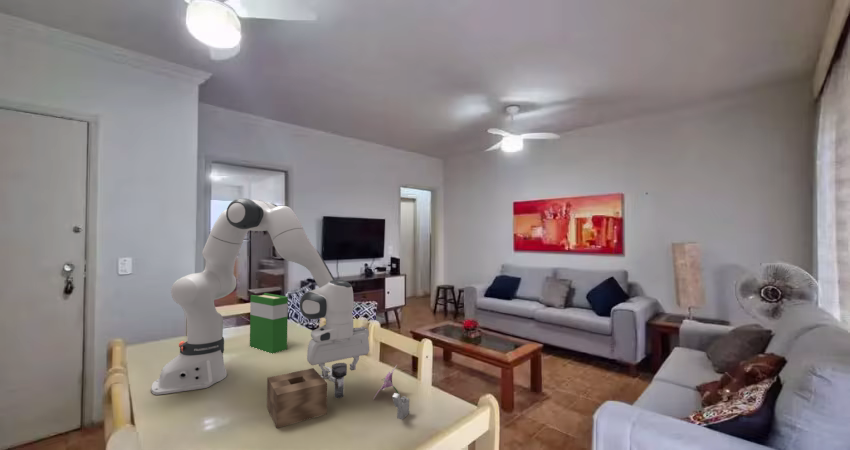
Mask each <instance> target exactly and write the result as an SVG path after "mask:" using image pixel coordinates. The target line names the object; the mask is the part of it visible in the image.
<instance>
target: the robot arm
mask: <svg viewBox="0 0 850 450" xmlns="http://www.w3.org/2000/svg"><path fill="white" fill-rule="evenodd" d="M250 231H253V232H262V231H263V232H267V233H268V234H269V236H270V239H271V242H272V244H273V247H274V249H275V251H276V252H277V253H278V255H279V256H280V258H282V259H284V260H285V261H288V262H291V263H295V264H299V265H301V266H302V267H304V268H305V269H307V270H308V271H309V273H310V274H311V276H312V278H313V279H314V281H315V284H316V285H317V287H318V288H315V289H312V290H308V291H307V292H305V293H303V294H302V296H301V298H300V301H299V311H300V312H301V314H302V316H303V317H305V318H306V319H308V320H318V319H325V324H324V325H322V326H320V327H317V328H316V329H313V330H311V332H310V336H311V340H309V342H308V345H307V354H306V360H307V362H308V364H310V365H311V366H316V365H318V367H319V369H320V370H321V374H322V376H323V377H325V376H328V374H329V372H328V371H329V370H328V369H326V368H325V366H326V363H330V362H331V363H332V362H336V361H340V360H347V359H351V358H353V360H352V362H351V363H350V364H349V370H350V371H355V370H356V369H357V364H358V362H359V361H360V357H361V356H366V355H368V354H369V352H370V343H369V336H370V334H369V333H370V332H369V329H368V328H367V327H365V326H361V327H360V326H359V327H354V317H353V311H354V306H355V305H354V302H355V301H354V291H353V287H352V286H353V285H352V284H351V283H349V282H348V281H346V280H341V279H340V280H339V279H335V277H334V276H333V274H332V272H331V271H330V269H329V267H328V265H327V264H326V262H325V260H324V258H323V257H322V255H321V254H320V252H319V251H318V249H316V247H315V246H314V245H313V244H312V242H311V241H310V239H309V238H308V235H307V234H306V232H305V229H304V227H303V225H302V223H301V221H300V220H299V217H298V216H297V215H296V213H295V211H293V209H292V208H291V207H289V206H287V205H279V206H278V205H277V204H274V203H272V202H271V203H270V202H268V201H264V200H261V199H259V200H258V199H250V198H237V199H234V200H232V201H231V202H230V203H229V204H228V206H227V208H226V209H225V210H223V211H222V212H221V213H220V214H219V216H218V217H217V219H216V221H215V222H214V224H213V226H212V228H211V230H210V233H209V235H208V237H207V240H206V243H205V244H204V247H203V249H202V257H203V259H204V260H205V267H204V269H203V271H201V272H194V273H189V274H187V275H184V276H181V278H180V277H179V278H178V279H177V280H175V281H174V283H173V284H172V285H171V288H170V289H171V290H170V294H171V298H172V300H173V301H174V302H175V303H176V304H178V305H179V306H180V307H181V308H182V309H183V313H184V315H185V318H186V324H187V325H186V333H187V335H186V338H187V340H186V341H183V340H182V341H180V342H179V343H178V347H179V354H178V355H176V356H175V357H174V358H173V359H171V360H169V362H167V363H166V364H165V365H164V366H163V368H162V369H161V372H160V374H159V378H158V379H156V380H154V381H153V382H152V384H151V388H150V392H151V393H152V394H153V395H155V396H156V395H157V396H158V395H165V394H172V393H180V392H186V391H187V392H188V391H193V390H201V389H206V388H209V387H211V386H212V385H214V384H216V383H218V382H220V381H223V380H224V379H225V378H226V377H227V376H228V374H227V373H228V372H227V370H226V366H225V360H224V353H225V352H224V351H225V339H224V338H225V337H224V336H223V333H224V332H223V331H224V326H223V325H224V319H223V315H222V314H221V313H219V312H218V310H217V308H216V306H215V300H219V299H222V298H225V297H227V296H228V295H230V294H231V293H233V292H234V291H235V289H236V287H237V278H236V276H235V274H234V271H235V264H236V261H237V258H238V256H239V252H240V249H241V247H242V246H243V243H244V241H245V237H246V235H247V234H248V232H250Z"/></svg>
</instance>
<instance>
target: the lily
mask: <svg viewBox="0 0 850 450" xmlns="http://www.w3.org/2000/svg"><path fill="white" fill-rule="evenodd" d="M397 366H398V364H396V365H395V367H394V368H393V369H392V370H391V371H390V370H389V371H388V372H387V374H386V375H385V377H384V378H382V381H383V384H382V385H381V387H380V388H379V389H378V390H377V392H376V393H375V395H374V397H373V400H374V399H375V398H376V396H377V395H378V393H379V392H380V391H381V390H382V391H384V390H385V389H387V388H391V387H392V388H394V390H395V391H396V393H397V394H400V393H399V391H398V390H397V388H396V387H395V386H394V384H393V374H394V372H395V369H397Z"/></svg>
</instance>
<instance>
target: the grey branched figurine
mask: <svg viewBox="0 0 850 450" xmlns="http://www.w3.org/2000/svg"><path fill="white" fill-rule="evenodd" d="M324 369H327V370H328V376H325V377H323V376H322V373H321V374H320V373H318V374H319V375H320V376H321V377H322V378H323V379H324V380H326V379H328V380H329V381H331V382H333V383H334V378H335V377H332V367H329V366H326V365H325V366H324Z"/></svg>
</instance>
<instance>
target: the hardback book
mask: <svg viewBox="0 0 850 450" xmlns="http://www.w3.org/2000/svg"><path fill="white" fill-rule="evenodd" d="M288 301H289V296H284V295H279V294H272V293H267V292H264V293H263V294H262V295H253V294H250V308H249V310H250V312H249V313H250V314H249V315H250V319H249V347H250V346H251V347H250V348H252V347H254V348H253V349H255V348H257V349H256V350H259V349H260V350H259V351H262V350H263V352H265V351H266V353H268V352H269V354H271V353H272V354H271V355H273V353H274V354H277V353H280V352H283V351H286V350H287V349H288V317H289V316H288V311H289V310H288V307H289V305H288V303H289V302H288ZM282 350H283V351H282ZM279 351H280V352H279ZM276 352H277V353H276Z"/></svg>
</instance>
